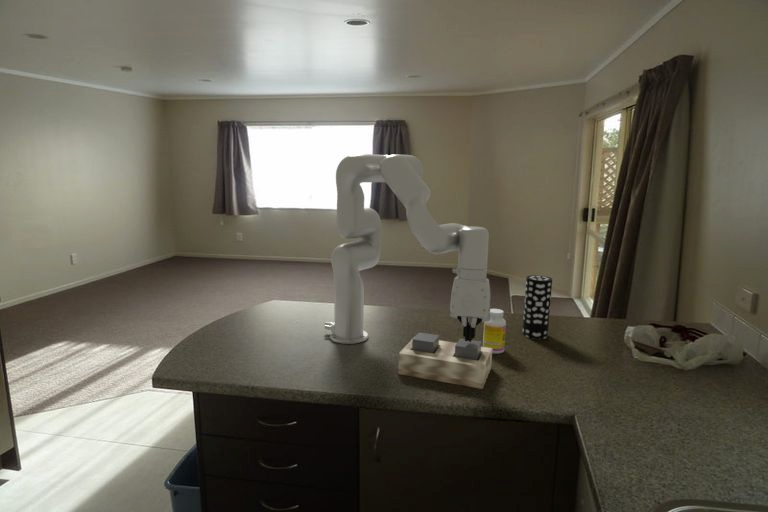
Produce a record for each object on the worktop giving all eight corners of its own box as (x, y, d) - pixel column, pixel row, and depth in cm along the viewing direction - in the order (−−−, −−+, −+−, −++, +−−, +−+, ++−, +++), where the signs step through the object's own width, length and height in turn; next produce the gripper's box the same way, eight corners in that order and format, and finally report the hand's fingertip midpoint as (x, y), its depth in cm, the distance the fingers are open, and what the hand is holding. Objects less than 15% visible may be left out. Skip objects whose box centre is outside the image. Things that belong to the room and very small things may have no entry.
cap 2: (454, 359, 129) (455, 345, 128) (459, 351, 134) (460, 338, 133) (476, 363, 127) (477, 349, 126) (480, 355, 132) (481, 341, 131)
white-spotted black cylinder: (552, 336, 162) (557, 279, 159) (536, 341, 158) (541, 282, 154) (532, 329, 169) (537, 274, 166) (517, 333, 165) (521, 277, 161)
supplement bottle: (504, 355, 145) (507, 314, 143) (482, 353, 147) (484, 313, 144) (503, 347, 152) (506, 308, 149) (482, 345, 153) (484, 307, 151)
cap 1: (412, 352, 133) (412, 339, 132) (418, 345, 138) (418, 332, 138) (432, 356, 131) (433, 342, 130) (438, 348, 136) (439, 335, 136)
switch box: (398, 373, 131) (398, 353, 130) (414, 355, 144) (414, 336, 143) (482, 388, 123) (483, 367, 122) (491, 368, 136) (492, 348, 135)
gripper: (440, 273, 125) (438, 340, 129) (498, 279, 120) (494, 348, 123) (447, 268, 132) (445, 331, 135) (502, 273, 127) (498, 339, 130)
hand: (468, 339), depth 129 cm, fingers closed
